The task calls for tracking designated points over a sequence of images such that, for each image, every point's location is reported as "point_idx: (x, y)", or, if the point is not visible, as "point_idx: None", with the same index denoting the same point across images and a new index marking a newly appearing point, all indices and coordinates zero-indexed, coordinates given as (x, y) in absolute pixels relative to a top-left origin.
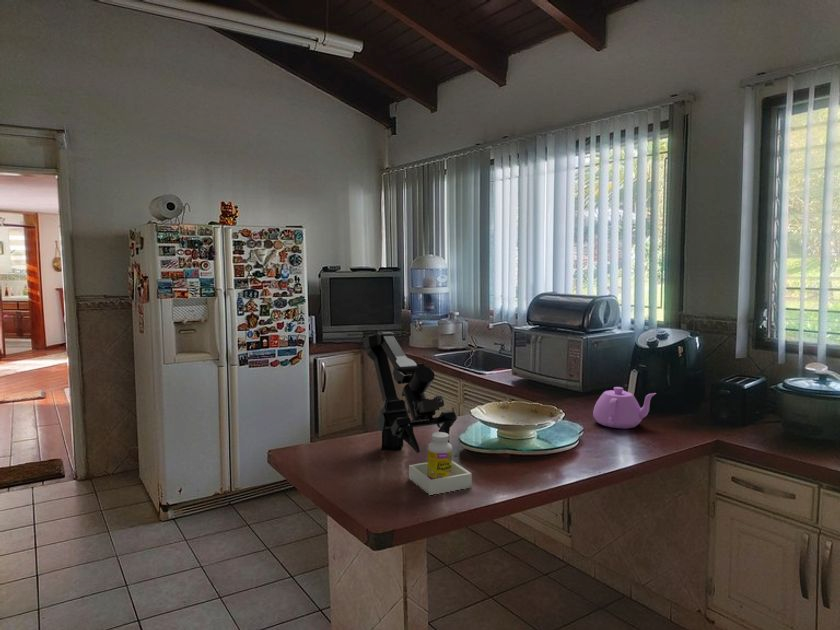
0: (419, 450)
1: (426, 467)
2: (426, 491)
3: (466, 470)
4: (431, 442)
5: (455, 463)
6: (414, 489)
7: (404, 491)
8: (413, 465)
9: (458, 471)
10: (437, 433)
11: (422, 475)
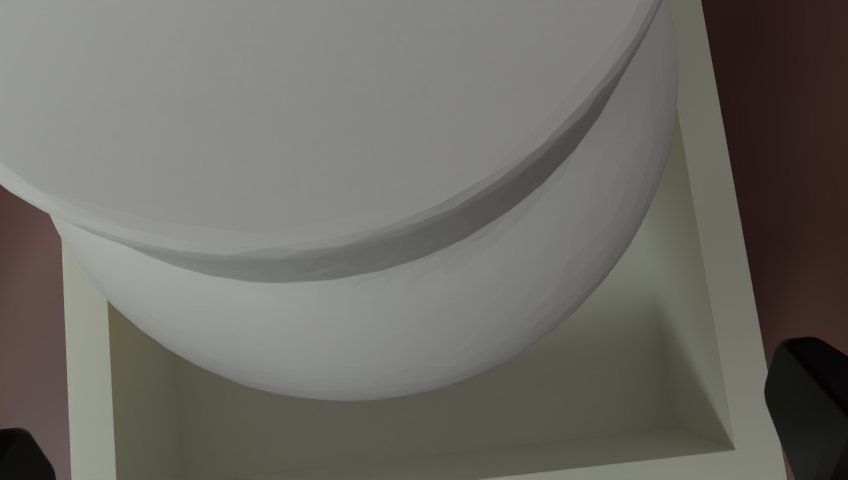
0: (794, 344)
1: (494, 464)
2: None
3: None
4: (557, 197)
5: (79, 328)
6: None
7: (840, 142)
8: (723, 460)
9: None
10: (322, 24)
11: (705, 47)
